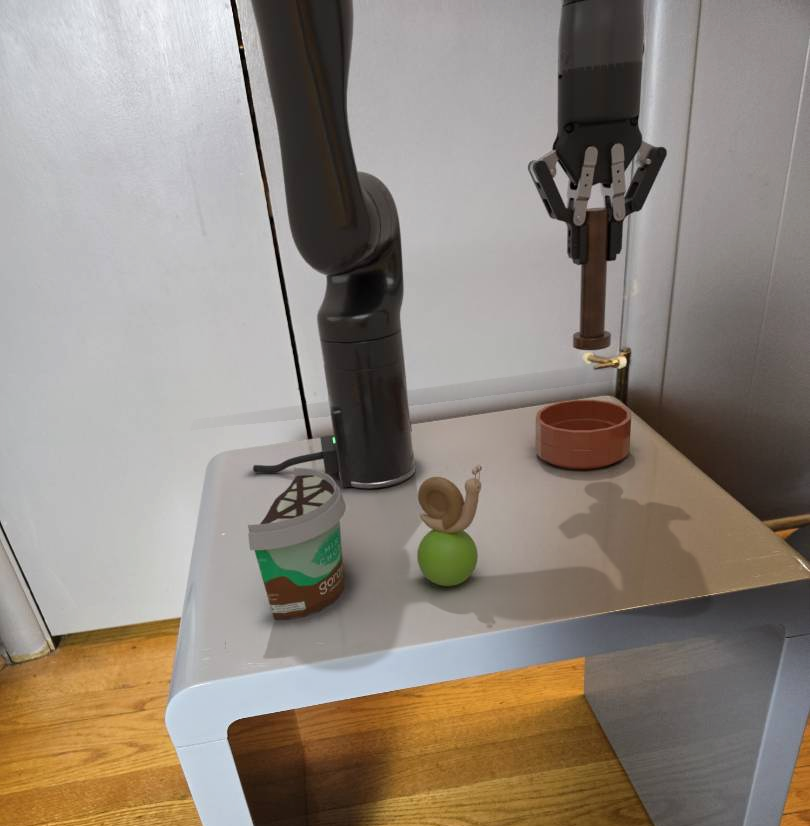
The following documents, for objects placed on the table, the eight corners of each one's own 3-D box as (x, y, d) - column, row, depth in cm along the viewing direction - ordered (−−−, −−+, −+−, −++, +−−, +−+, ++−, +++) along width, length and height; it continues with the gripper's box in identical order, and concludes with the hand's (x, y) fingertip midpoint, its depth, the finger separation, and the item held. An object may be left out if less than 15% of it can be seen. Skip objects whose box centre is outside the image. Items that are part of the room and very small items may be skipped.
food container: (335, 633, 62) (318, 529, 57) (267, 629, 64) (245, 528, 59) (370, 558, 73) (358, 465, 68) (311, 556, 74) (295, 465, 69)
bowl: (552, 477, 85) (553, 437, 82) (525, 443, 94) (524, 406, 92) (644, 464, 86) (647, 423, 83) (607, 432, 95) (609, 394, 93)
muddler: (580, 352, 78) (583, 213, 71) (567, 343, 82) (569, 209, 75) (616, 347, 78) (622, 208, 72) (602, 338, 82) (607, 205, 75)
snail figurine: (471, 606, 64) (463, 480, 58) (408, 589, 67) (395, 468, 61) (498, 575, 68) (494, 454, 62) (438, 561, 71) (428, 445, 65)
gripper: (655, 59, 71) (643, 249, 80) (514, 73, 70) (517, 264, 79) (692, 51, 65) (675, 259, 73) (537, 66, 64) (538, 275, 72)
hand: (593, 261), depth 76 cm, fingers closed on muddler, 2 cm apart
